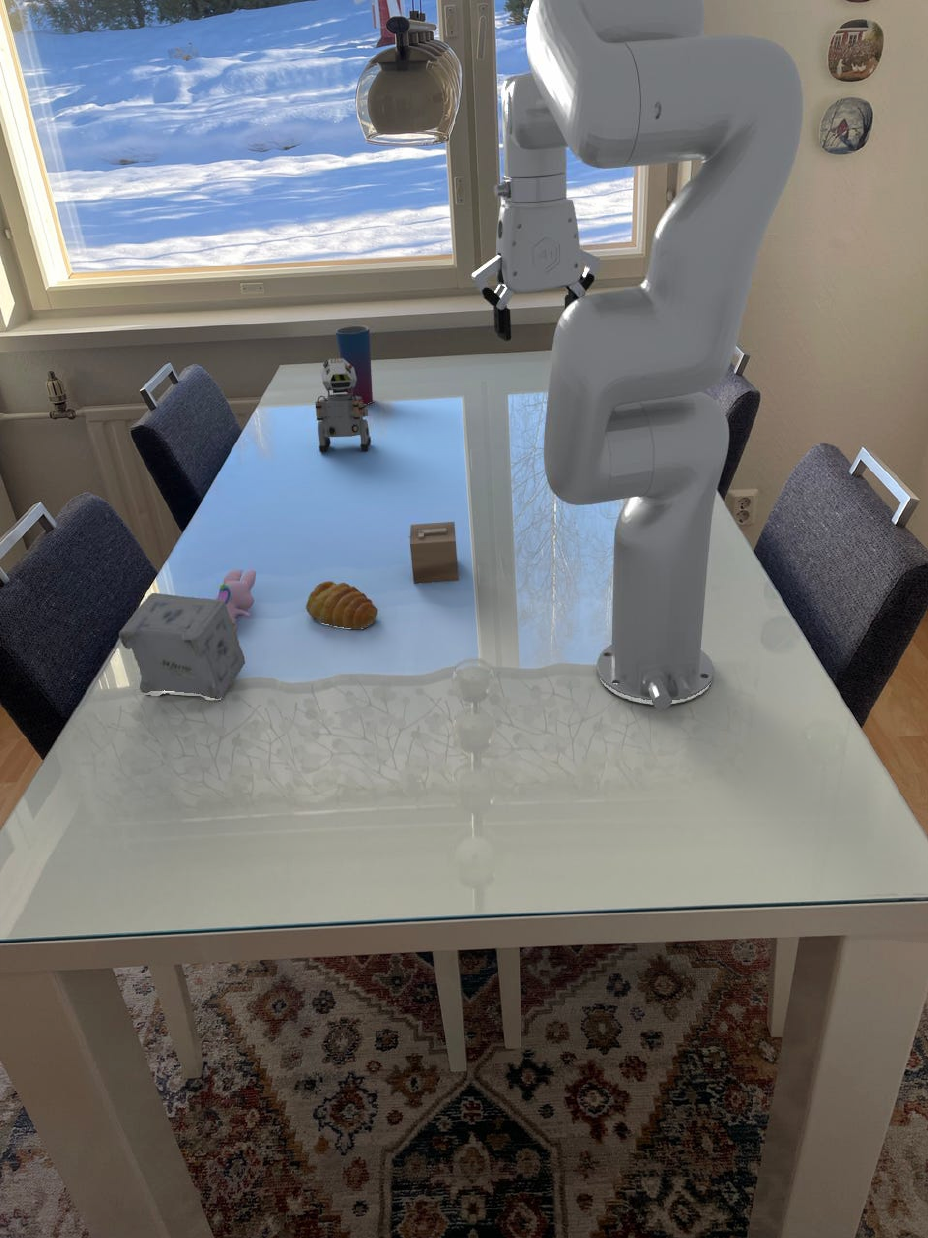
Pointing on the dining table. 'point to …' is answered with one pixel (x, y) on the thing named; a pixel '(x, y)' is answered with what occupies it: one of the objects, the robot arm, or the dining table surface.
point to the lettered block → (433, 552)
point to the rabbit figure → (237, 593)
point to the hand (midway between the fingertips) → (538, 333)
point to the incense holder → (184, 645)
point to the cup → (357, 357)
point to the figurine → (341, 406)
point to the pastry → (341, 606)
